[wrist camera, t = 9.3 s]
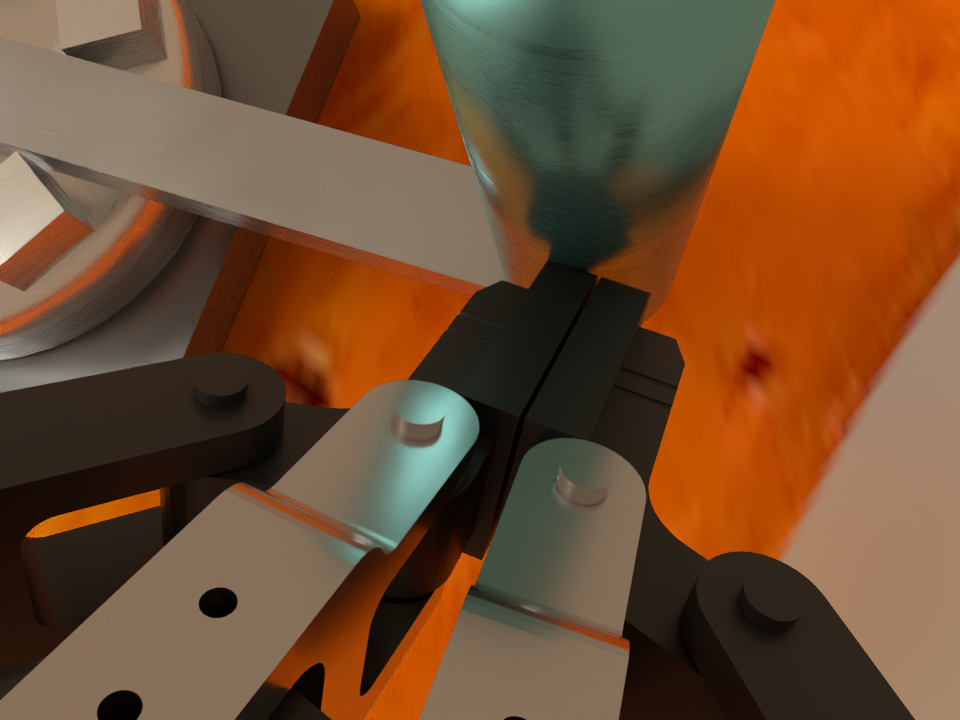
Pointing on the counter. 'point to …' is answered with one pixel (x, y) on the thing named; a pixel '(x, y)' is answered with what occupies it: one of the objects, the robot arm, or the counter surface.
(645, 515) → the robot arm
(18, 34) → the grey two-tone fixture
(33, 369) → the base plate
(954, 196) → the counter surface
